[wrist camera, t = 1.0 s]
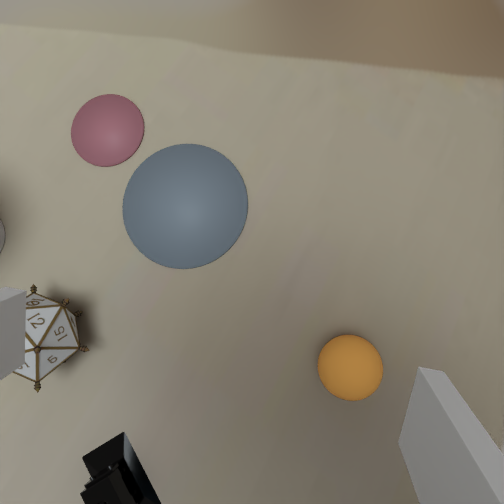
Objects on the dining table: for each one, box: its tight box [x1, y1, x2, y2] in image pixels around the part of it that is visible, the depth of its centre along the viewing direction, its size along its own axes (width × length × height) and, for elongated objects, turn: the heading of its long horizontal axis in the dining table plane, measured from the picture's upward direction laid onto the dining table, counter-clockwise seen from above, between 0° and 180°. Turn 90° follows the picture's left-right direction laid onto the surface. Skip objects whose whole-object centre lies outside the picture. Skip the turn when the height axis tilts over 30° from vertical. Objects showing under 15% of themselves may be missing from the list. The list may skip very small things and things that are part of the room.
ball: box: [318, 335, 383, 401], centre depth 34 cm, size 6×6×6 cm
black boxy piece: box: [80, 432, 161, 504], centre depth 36 cm, size 12×7×5 cm, turn 31°
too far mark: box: [71, 94, 144, 167], centre depth 42 cm, size 8×8×1 cm
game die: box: [13, 284, 89, 392], centre depth 36 cm, size 9×8×10 cm
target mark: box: [123, 144, 248, 269], centre depth 40 cm, size 13×13×1 cm
